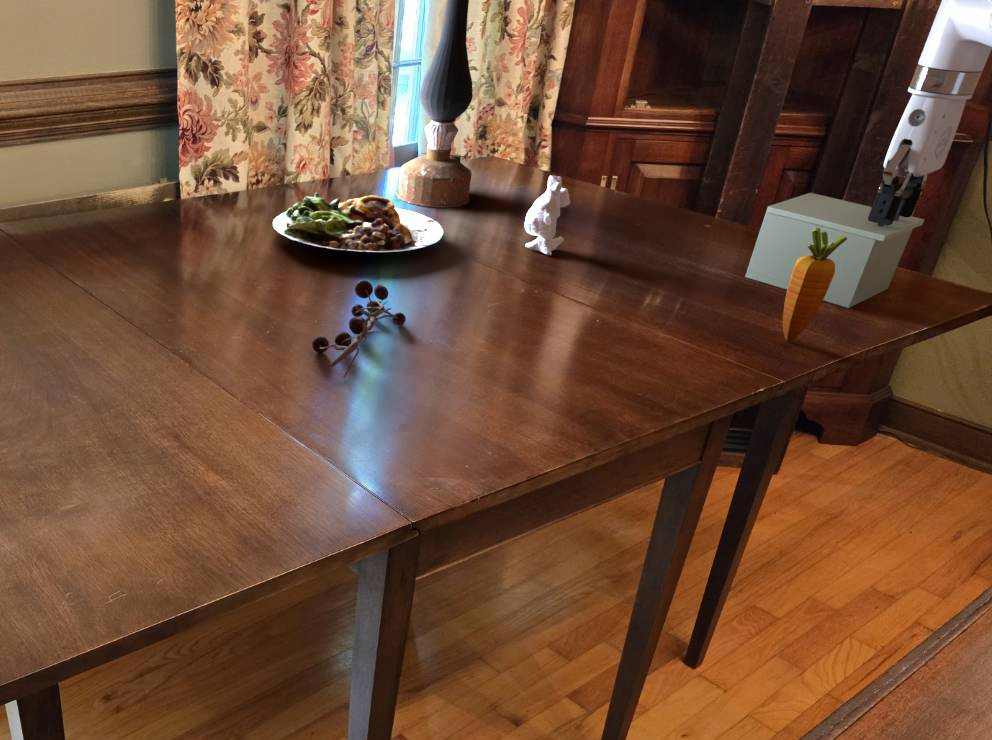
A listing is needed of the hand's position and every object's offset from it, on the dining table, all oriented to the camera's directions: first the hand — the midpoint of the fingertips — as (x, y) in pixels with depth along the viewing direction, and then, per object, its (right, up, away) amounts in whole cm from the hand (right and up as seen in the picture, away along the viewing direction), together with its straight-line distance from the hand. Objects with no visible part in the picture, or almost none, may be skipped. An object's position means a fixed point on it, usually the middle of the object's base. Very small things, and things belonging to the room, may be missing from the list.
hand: (889, 217), depth 138 cm
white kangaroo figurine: (-45, +1, +20) cm, 49 cm away
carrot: (-20, -20, -9) cm, 30 cm away
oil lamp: (-59, +18, +43) cm, 75 cm away
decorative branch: (-78, -21, -15) cm, 82 cm away
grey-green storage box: (-5, -7, +11) cm, 13 cm away
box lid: (-4, +1, +5) cm, 6 cm away
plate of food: (-75, +3, +20) cm, 78 cm away
